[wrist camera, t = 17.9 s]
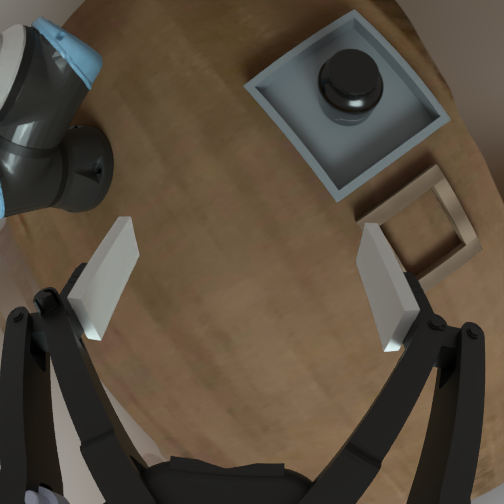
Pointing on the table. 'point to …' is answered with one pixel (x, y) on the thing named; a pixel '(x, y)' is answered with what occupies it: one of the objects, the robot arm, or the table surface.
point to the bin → (337, 136)
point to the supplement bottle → (349, 87)
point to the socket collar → (453, 210)
